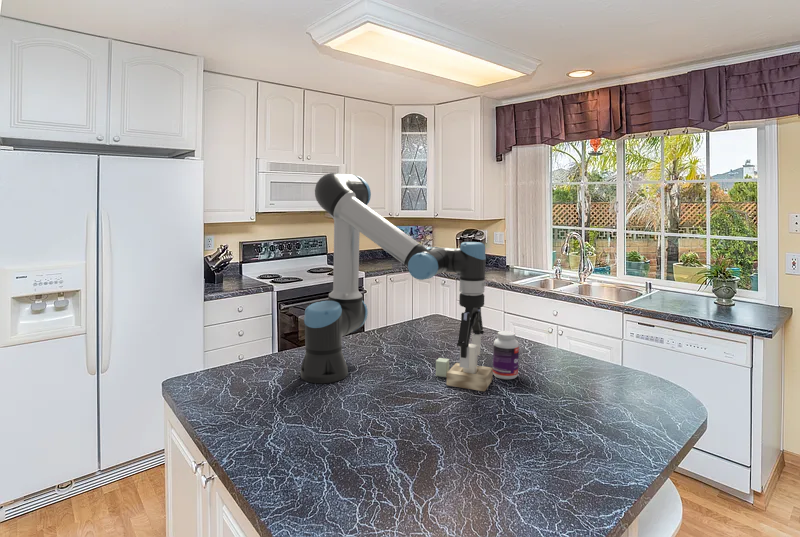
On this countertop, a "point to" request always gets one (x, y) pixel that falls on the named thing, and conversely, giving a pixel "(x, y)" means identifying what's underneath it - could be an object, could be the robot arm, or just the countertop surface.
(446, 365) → the short peg
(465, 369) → the long peg
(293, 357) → the countertop surface
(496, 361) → the pill bottle
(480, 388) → the hole block
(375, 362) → the countertop surface
